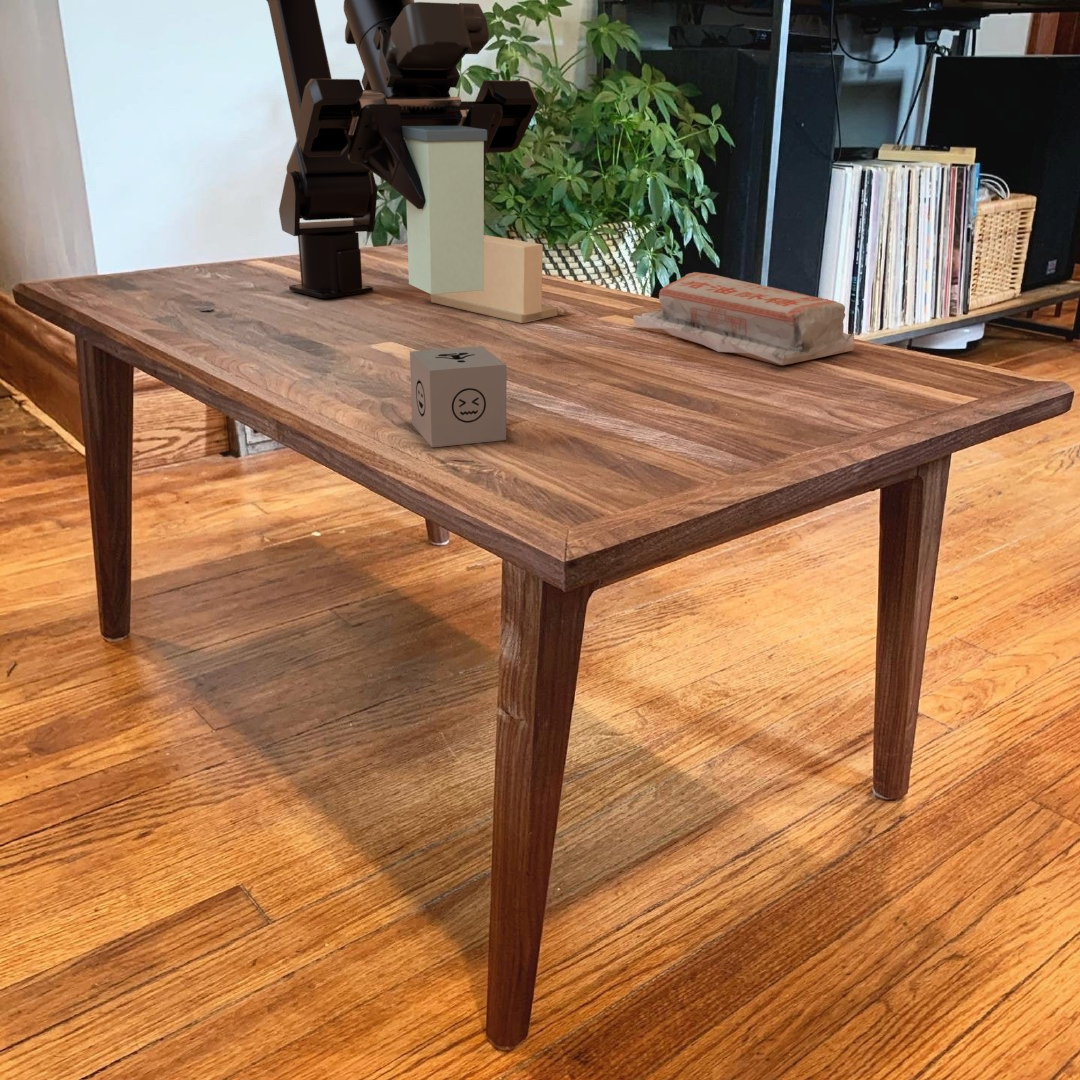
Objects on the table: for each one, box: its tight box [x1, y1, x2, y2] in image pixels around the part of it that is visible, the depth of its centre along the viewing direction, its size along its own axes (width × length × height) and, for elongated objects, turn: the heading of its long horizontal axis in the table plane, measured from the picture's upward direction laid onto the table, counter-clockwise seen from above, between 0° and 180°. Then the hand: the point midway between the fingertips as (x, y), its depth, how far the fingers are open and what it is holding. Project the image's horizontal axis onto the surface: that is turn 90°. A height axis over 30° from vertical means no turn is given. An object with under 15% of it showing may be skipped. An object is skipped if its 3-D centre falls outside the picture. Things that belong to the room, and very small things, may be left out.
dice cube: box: [409, 346, 508, 448], centre depth 70 cm, size 5×5×5 cm
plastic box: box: [402, 126, 487, 296], centre depth 84 cm, size 5×5×12 cm
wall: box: [430, 234, 559, 324], centre depth 106 cm, size 13×5×7 cm, turn 46°
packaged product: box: [632, 271, 855, 366], centre depth 96 cm, size 18×5×10 cm
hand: (451, 204), depth 83 cm, fingers closed on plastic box, 4 cm apart
